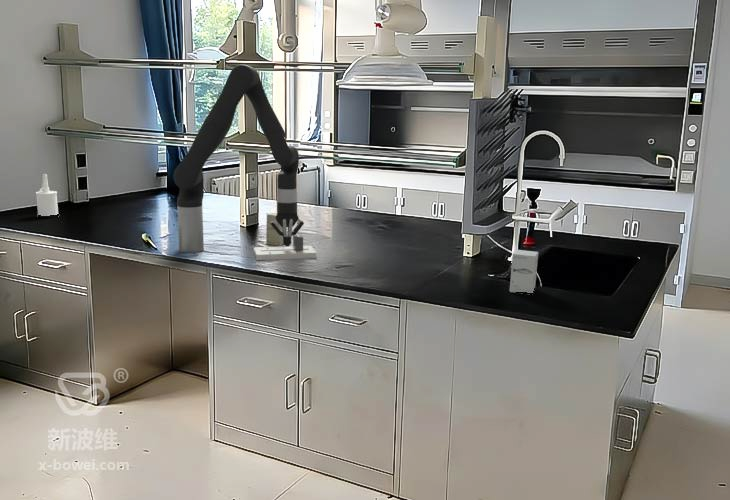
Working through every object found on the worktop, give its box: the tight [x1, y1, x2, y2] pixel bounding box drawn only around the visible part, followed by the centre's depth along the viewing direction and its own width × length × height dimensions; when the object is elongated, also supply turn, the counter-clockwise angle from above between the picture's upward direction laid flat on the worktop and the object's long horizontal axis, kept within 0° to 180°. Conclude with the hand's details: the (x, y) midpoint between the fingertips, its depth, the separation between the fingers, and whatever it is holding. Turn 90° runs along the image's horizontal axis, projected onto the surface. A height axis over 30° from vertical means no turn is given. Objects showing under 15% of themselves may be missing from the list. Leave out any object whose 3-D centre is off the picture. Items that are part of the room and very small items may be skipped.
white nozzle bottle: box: [35, 173, 59, 216], centre depth 327 cm, size 10×9×20 cm
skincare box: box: [265, 212, 284, 247], centre depth 280 cm, size 6×4×12 cm
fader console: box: [253, 245, 317, 261], centre depth 263 cm, size 22×12×2 cm, turn 104°
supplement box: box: [509, 249, 539, 294], centre depth 221 cm, size 7×7×13 cm
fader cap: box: [292, 233, 304, 250], centre depth 263 cm, size 3×5×5 cm, turn 14°
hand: (287, 246), depth 262 cm, fingers closed
